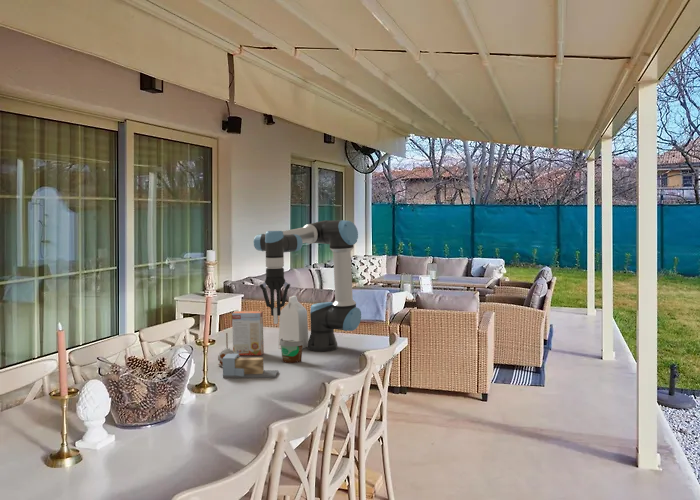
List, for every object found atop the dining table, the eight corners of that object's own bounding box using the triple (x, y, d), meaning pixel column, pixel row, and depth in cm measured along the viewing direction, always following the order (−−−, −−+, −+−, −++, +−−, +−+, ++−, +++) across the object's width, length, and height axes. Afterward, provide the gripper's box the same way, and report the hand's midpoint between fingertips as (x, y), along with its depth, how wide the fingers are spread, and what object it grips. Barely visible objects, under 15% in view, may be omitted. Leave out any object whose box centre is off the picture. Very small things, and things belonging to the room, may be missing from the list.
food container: (274, 362, 282) (273, 340, 282) (281, 359, 288) (281, 338, 287) (296, 364, 277) (296, 343, 276) (304, 361, 282) (303, 340, 281)
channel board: (278, 371, 265) (278, 352, 264) (274, 378, 254) (274, 359, 253) (228, 371, 266) (228, 352, 265) (222, 378, 255) (221, 359, 254)
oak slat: (263, 371, 262) (263, 357, 262) (262, 373, 258) (262, 359, 258) (230, 371, 262) (230, 358, 261) (229, 374, 258) (228, 360, 257)
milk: (288, 343, 321) (287, 294, 319) (308, 345, 317) (308, 295, 315) (278, 348, 310) (277, 297, 308) (299, 350, 306) (298, 298, 304)
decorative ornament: (217, 368, 272) (216, 334, 271) (220, 363, 280) (219, 331, 279) (235, 367, 273) (234, 334, 272) (237, 363, 281) (236, 331, 280)
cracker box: (264, 353, 300) (263, 310, 299) (261, 356, 294) (260, 312, 293) (236, 352, 302) (235, 310, 300) (232, 355, 296) (231, 312, 294)
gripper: (291, 266, 260) (292, 321, 261) (261, 266, 260) (262, 321, 262) (289, 268, 252) (290, 324, 254) (257, 268, 253) (258, 325, 255)
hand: (275, 323), depth 258 cm, fingers closed
